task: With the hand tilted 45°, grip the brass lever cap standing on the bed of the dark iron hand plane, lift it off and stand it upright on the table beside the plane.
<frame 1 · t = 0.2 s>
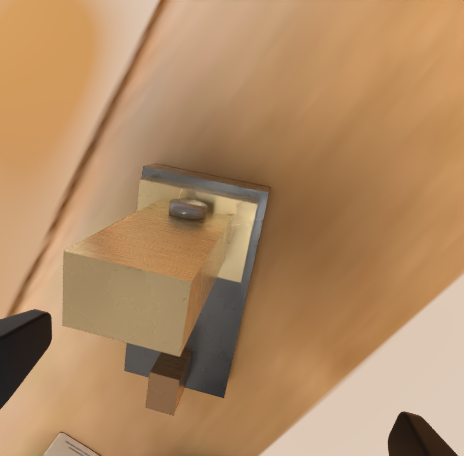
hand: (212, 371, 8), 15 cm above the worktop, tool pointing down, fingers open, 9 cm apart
plane body: (194, 280, 24), on the worktop
lever cap: (197, 225, 21), point 2 cm above the worktop, touching plane body
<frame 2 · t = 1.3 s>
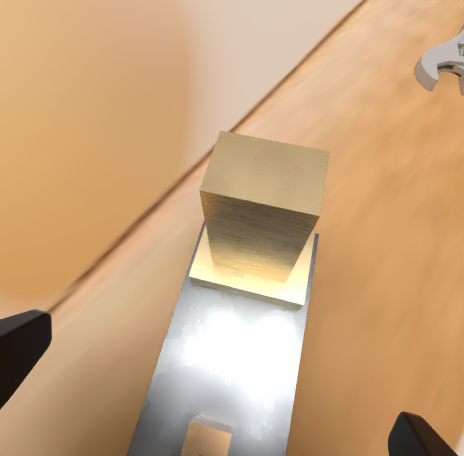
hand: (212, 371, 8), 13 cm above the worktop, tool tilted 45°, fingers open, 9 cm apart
plane body: (234, 340, 21), on the worktop
lever cap: (253, 260, 21), point 2 cm above the worktop, touching plane body
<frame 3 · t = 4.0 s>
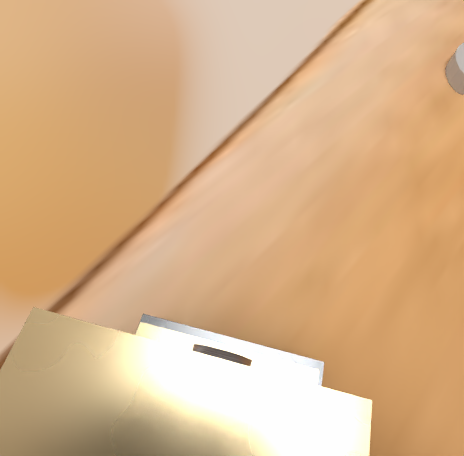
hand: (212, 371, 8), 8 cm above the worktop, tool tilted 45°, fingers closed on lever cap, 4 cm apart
lever cap: (211, 415, 12), point 2 cm above the worktop, touching gripper, plane body
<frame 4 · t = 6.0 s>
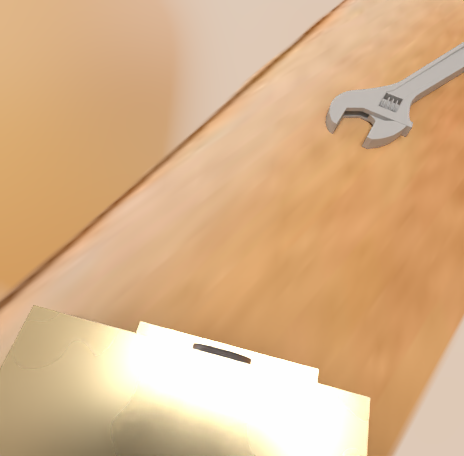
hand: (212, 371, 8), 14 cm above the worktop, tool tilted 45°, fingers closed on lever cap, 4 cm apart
adjustable wrench: (430, 91, 32), on the worktop
lever cap: (210, 414, 12), point 8 cm above the worktop, touching gripper
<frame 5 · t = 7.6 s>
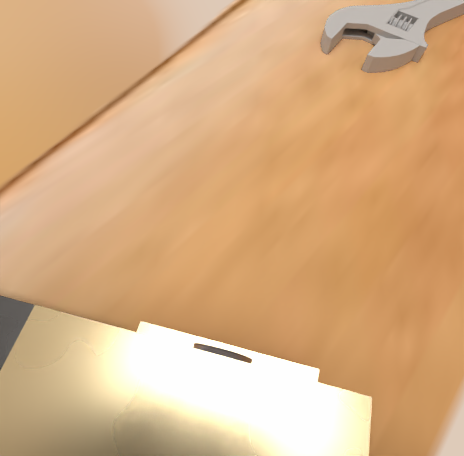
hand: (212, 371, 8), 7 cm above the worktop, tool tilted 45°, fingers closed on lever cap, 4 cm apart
adjustable wrench: (454, 19, 26), on the worktop
lever cap: (211, 414, 12), point 1 cm above the worktop, touching gripper
when the fingers open (6 cm above the worktop, at t = 8.5 s): lever cap stays where it is, on the worktop.
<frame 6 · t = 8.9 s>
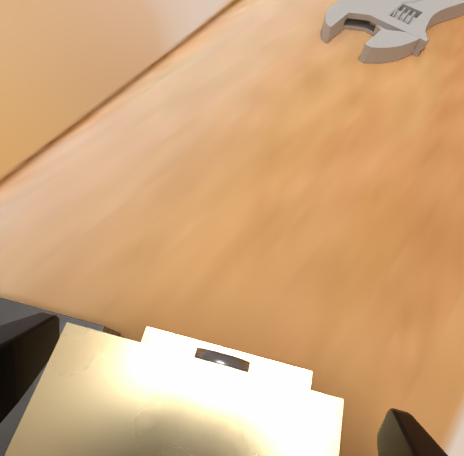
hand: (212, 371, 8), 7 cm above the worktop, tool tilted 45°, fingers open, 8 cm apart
adjustable wrench: (462, 17, 26), on the worktop
lever cap: (212, 413, 13), on the worktop
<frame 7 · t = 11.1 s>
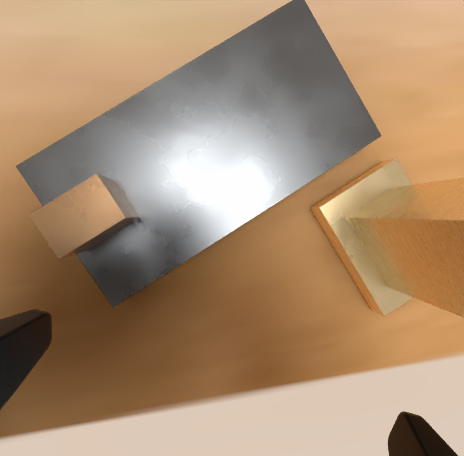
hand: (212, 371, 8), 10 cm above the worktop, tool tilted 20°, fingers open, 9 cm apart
plane body: (207, 157, 18), on the worktop
lever cap: (375, 235, 19), on the worktop
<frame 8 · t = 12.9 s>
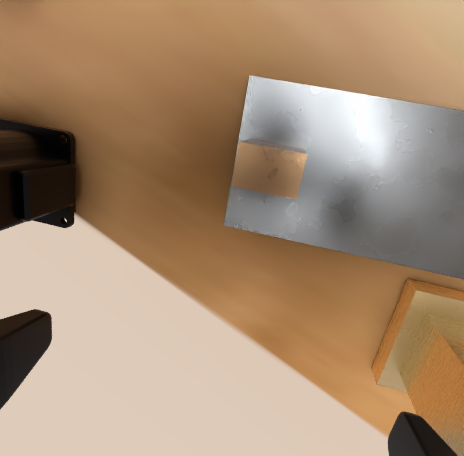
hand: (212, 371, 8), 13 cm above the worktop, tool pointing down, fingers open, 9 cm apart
plane body: (378, 179, 18), on the worktop
lever cap: (428, 335, 20), on the worktop
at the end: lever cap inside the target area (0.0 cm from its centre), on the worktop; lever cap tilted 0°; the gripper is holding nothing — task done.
